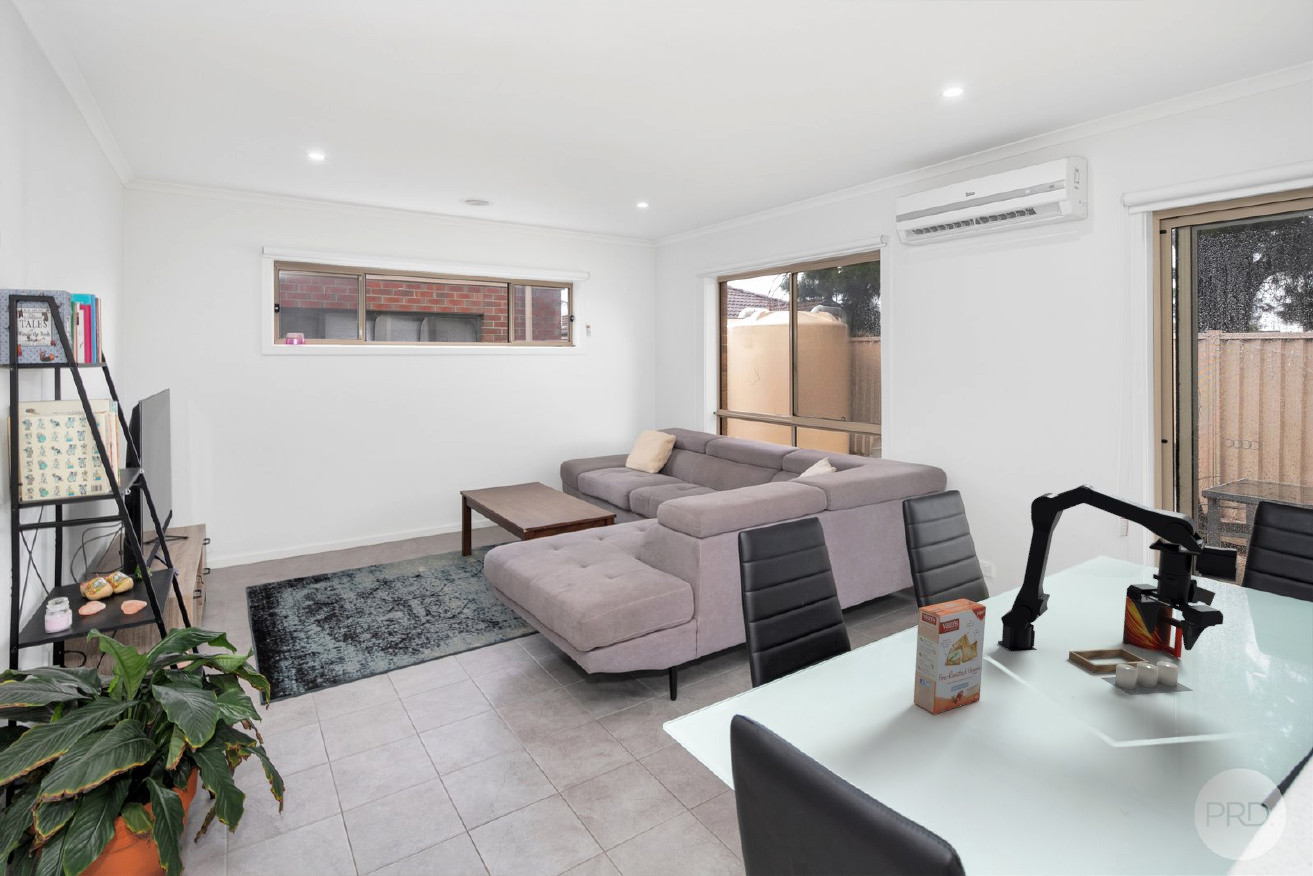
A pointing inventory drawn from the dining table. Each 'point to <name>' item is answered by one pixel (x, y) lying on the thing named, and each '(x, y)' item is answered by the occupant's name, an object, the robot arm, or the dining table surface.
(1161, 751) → the dining table surface
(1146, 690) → the slate board
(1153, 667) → the pebble
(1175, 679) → the pebble
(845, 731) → the dining table surface
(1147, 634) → the mug
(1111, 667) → the walnut bin
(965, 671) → the cracker box
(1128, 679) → the white rounded stone
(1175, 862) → the dining table surface
